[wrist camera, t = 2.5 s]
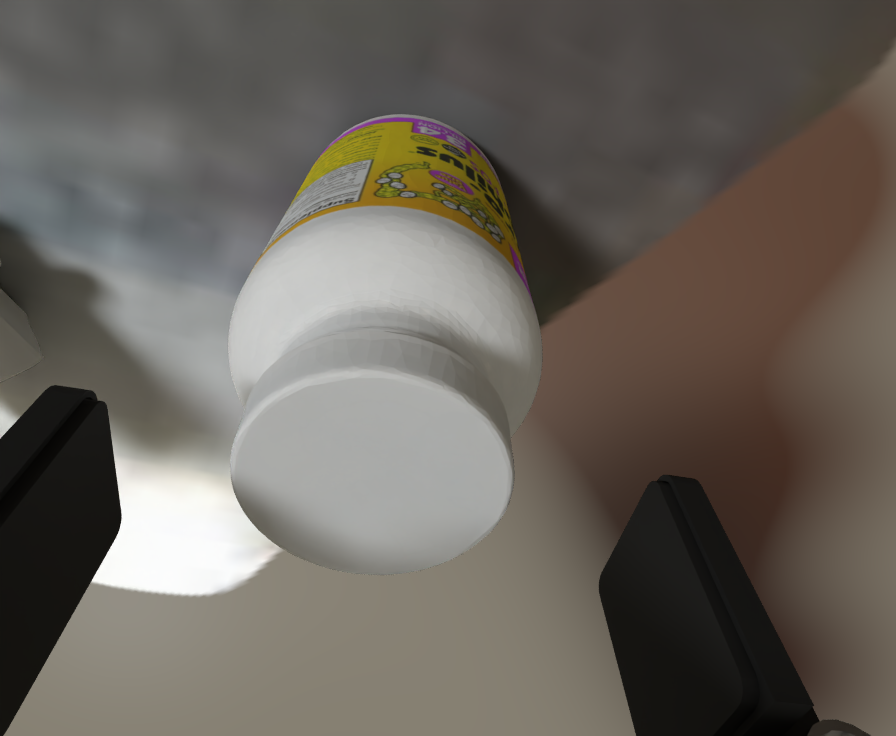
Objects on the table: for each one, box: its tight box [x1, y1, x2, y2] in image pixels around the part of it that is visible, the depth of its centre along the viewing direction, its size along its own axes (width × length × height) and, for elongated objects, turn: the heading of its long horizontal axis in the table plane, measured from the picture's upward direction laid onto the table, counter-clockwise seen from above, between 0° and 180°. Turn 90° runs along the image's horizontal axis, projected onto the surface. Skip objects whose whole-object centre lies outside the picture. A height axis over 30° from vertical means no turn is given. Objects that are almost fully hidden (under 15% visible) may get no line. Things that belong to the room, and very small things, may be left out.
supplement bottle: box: [228, 114, 542, 575], centre depth 15 cm, size 7×7×13 cm
